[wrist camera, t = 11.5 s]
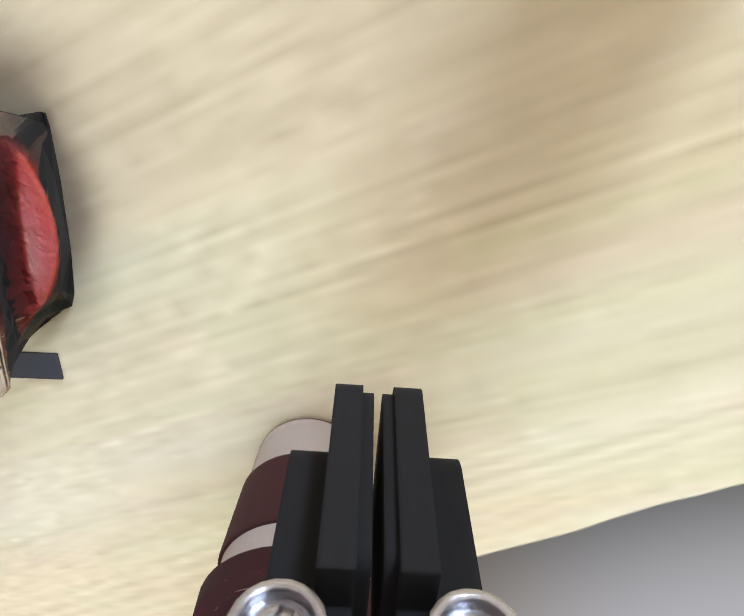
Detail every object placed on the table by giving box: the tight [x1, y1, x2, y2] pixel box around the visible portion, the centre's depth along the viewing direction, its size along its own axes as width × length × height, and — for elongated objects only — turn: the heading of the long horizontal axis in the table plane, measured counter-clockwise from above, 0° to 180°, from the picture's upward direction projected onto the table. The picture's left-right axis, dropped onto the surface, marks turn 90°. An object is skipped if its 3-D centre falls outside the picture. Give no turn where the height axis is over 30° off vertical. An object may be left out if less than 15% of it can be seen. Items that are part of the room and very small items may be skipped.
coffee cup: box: [193, 419, 371, 616], centre depth 35 cm, size 10×10×15 cm
